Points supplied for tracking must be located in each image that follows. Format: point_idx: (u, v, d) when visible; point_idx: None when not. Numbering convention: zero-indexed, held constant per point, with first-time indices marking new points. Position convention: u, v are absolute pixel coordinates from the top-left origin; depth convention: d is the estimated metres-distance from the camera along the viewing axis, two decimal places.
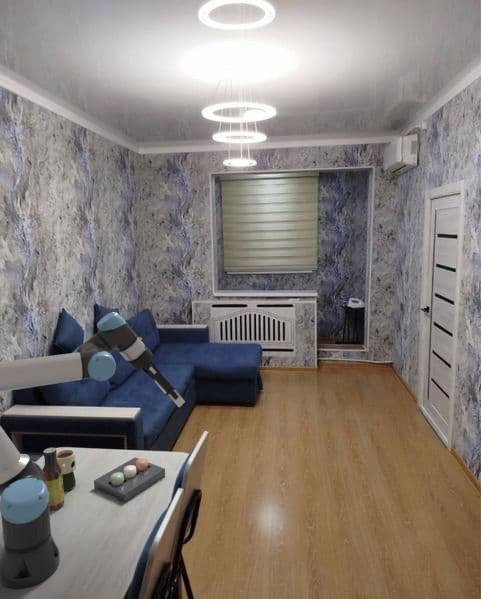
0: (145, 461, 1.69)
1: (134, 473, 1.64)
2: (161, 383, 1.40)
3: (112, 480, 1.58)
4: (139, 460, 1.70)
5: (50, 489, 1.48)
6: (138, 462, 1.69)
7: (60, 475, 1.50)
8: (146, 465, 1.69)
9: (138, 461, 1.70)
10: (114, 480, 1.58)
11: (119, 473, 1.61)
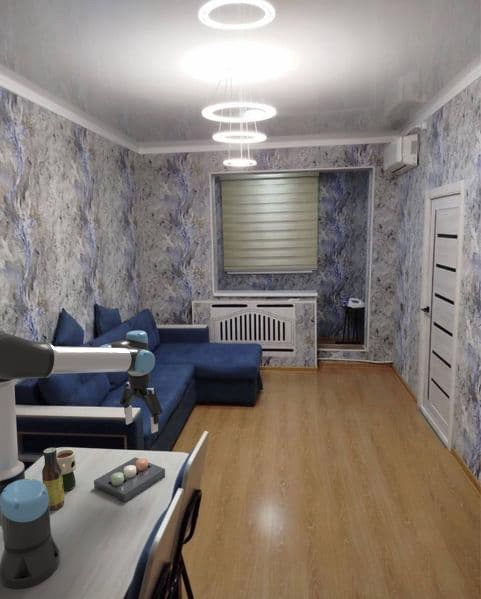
0: (145, 461, 1.69)
1: (134, 473, 1.64)
2: (155, 403, 1.60)
3: (112, 480, 1.58)
4: (139, 460, 1.70)
5: (50, 489, 1.48)
6: (138, 462, 1.69)
7: (60, 475, 1.50)
8: (146, 465, 1.69)
9: (138, 461, 1.70)
10: (114, 480, 1.58)
11: (119, 473, 1.61)
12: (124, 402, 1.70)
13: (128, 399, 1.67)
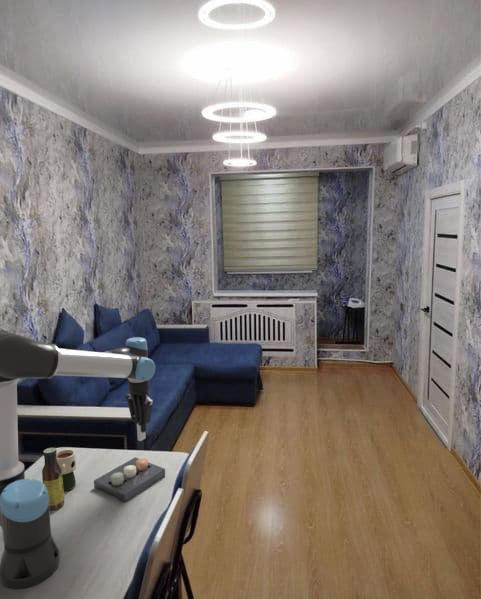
0: (145, 461, 1.69)
1: (134, 473, 1.64)
2: (147, 414, 1.64)
3: (112, 480, 1.58)
4: (139, 460, 1.70)
5: (50, 489, 1.48)
6: (138, 462, 1.69)
7: (60, 475, 1.50)
8: (146, 465, 1.69)
9: (138, 461, 1.70)
10: (114, 480, 1.58)
11: (119, 473, 1.61)
12: None
13: (135, 411, 1.66)
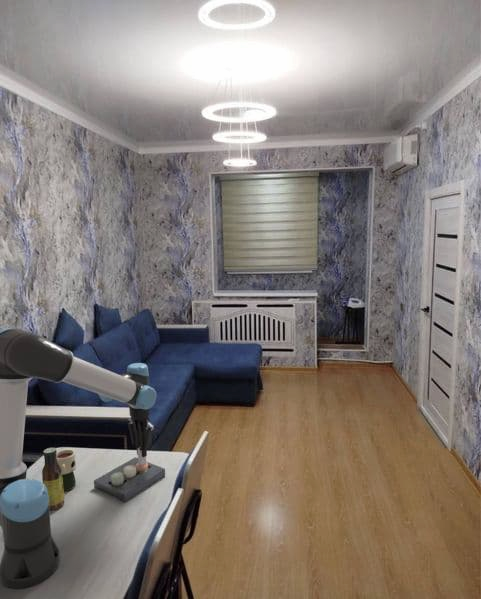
0: (145, 464, 1.70)
1: (134, 473, 1.64)
2: (148, 439, 1.65)
3: (112, 480, 1.58)
4: None
5: (50, 489, 1.48)
6: (138, 465, 1.69)
7: (60, 475, 1.50)
8: (146, 468, 1.69)
9: None
10: (114, 480, 1.58)
11: (119, 473, 1.61)
12: None
13: (136, 436, 1.68)
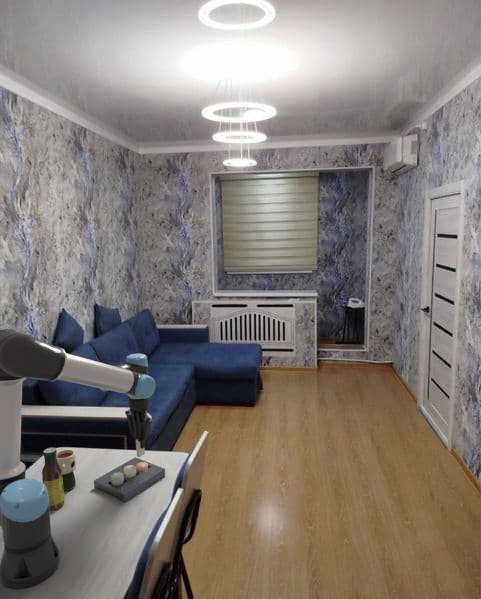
0: (145, 465, 1.70)
1: (134, 473, 1.64)
2: (147, 430, 1.64)
3: (112, 480, 1.58)
4: (139, 464, 1.70)
5: (50, 489, 1.48)
6: (138, 466, 1.69)
7: (60, 475, 1.50)
8: (146, 469, 1.69)
9: (138, 465, 1.70)
10: (114, 480, 1.58)
11: (119, 473, 1.61)
12: None
13: (134, 427, 1.67)
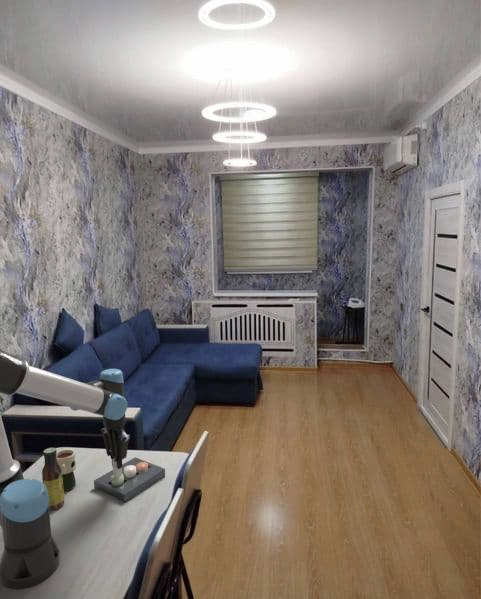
0: (145, 465, 1.70)
1: (134, 473, 1.64)
2: (123, 450, 1.55)
3: (112, 481, 1.58)
4: (139, 464, 1.70)
5: (50, 489, 1.48)
6: (138, 466, 1.69)
7: (60, 475, 1.50)
8: (146, 469, 1.69)
9: (138, 465, 1.70)
10: (114, 480, 1.58)
11: None
12: None
13: (110, 446, 1.58)
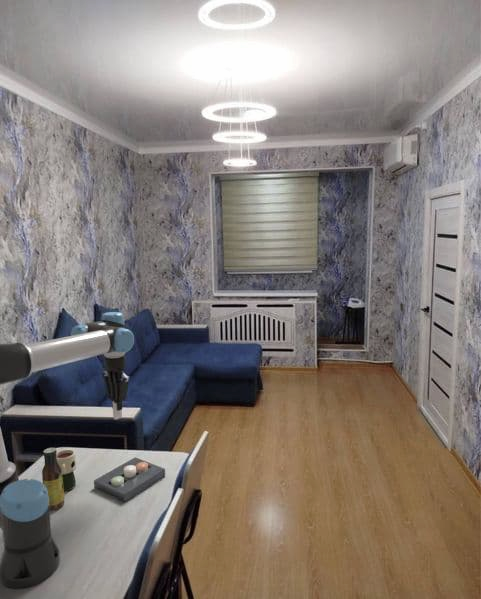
0: (145, 465, 1.70)
1: (134, 473, 1.64)
2: (123, 391, 1.59)
3: (112, 484, 1.58)
4: (139, 464, 1.70)
5: (50, 489, 1.48)
6: (138, 466, 1.69)
7: (60, 475, 1.50)
8: (146, 469, 1.69)
9: (138, 465, 1.70)
10: (115, 484, 1.58)
11: (119, 477, 1.61)
12: None
13: (111, 388, 1.61)
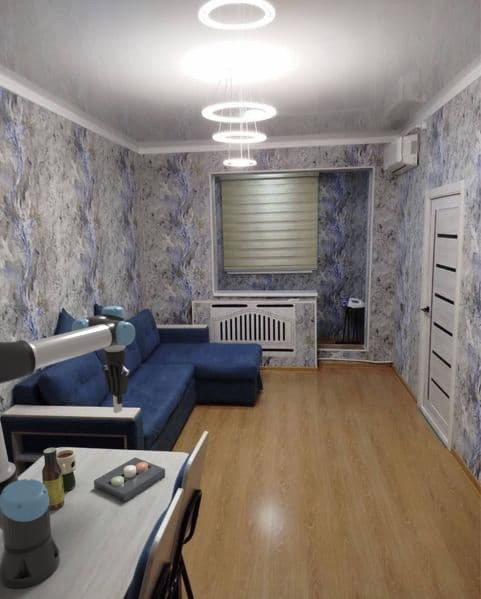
0: (145, 465, 1.70)
1: (134, 473, 1.64)
2: (123, 385, 1.60)
3: (112, 484, 1.58)
4: (139, 464, 1.70)
5: (50, 489, 1.48)
6: (138, 466, 1.69)
7: (60, 475, 1.50)
8: (146, 469, 1.69)
9: (138, 465, 1.70)
10: (115, 484, 1.58)
11: (119, 477, 1.61)
12: None
13: (111, 382, 1.62)
